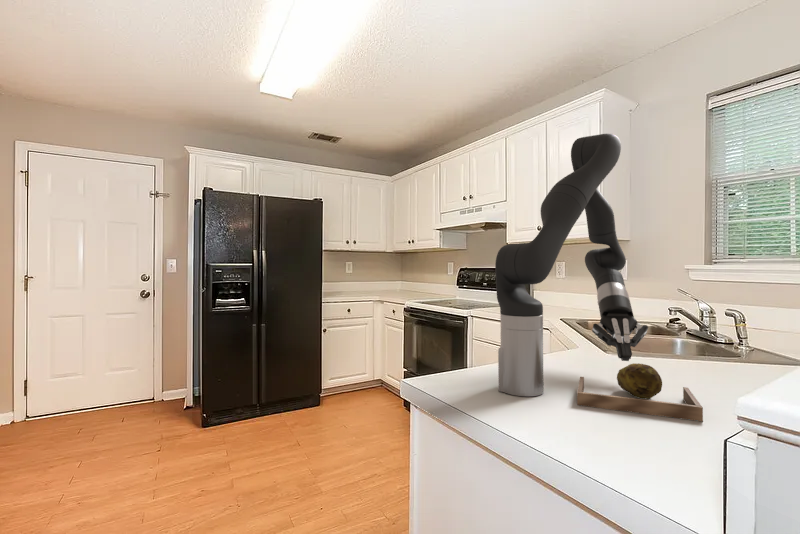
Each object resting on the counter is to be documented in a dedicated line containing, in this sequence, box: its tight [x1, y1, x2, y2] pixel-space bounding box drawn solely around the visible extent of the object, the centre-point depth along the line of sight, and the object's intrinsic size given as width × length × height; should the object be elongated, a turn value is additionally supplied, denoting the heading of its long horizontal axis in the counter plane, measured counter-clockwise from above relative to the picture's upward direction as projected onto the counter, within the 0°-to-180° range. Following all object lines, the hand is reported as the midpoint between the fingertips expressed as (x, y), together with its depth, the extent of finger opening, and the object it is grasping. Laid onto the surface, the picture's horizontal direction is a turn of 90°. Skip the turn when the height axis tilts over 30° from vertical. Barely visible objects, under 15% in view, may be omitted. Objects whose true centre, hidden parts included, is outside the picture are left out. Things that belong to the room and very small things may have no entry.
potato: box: [616, 363, 663, 400], centre depth 85 cm, size 8×13×8 cm, turn 150°
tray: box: [576, 376, 704, 422], centre depth 83 cm, size 21×14×2 cm, turn 64°
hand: (625, 359), depth 96 cm, fingers closed
